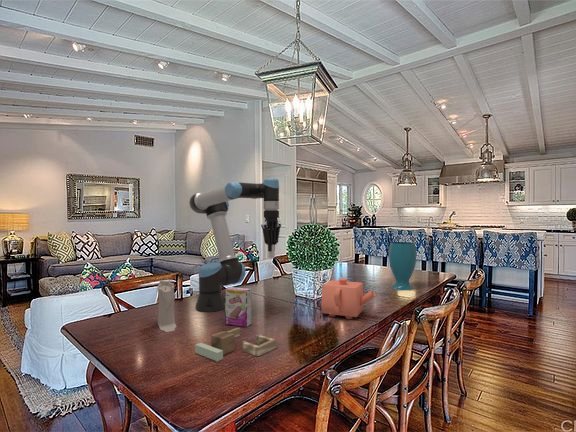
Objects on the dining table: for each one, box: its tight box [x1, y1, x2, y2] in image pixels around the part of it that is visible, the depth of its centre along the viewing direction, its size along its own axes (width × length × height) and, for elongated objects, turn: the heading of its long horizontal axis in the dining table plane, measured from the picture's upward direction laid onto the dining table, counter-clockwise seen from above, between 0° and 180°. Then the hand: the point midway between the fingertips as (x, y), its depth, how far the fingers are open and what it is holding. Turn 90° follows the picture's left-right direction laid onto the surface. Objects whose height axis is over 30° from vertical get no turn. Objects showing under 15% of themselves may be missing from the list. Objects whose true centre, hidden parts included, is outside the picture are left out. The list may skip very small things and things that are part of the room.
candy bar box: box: [224, 286, 252, 328], centre depth 157 cm, size 11×5×16 cm, turn 71°
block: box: [210, 330, 236, 356], centre depth 128 cm, size 6×6×6 cm
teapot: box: [320, 277, 377, 320], centre depth 171 cm, size 25×23×18 cm
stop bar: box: [194, 342, 224, 362], centre depth 123 cm, size 12×2×3 cm, turn 53°
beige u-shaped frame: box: [226, 327, 277, 357], centre depth 134 cm, size 22×11×3 cm, turn 53°
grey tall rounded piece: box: [157, 280, 177, 333], centre depth 154 cm, size 7×14×20 cm, turn 27°
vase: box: [388, 241, 418, 291], centre depth 230 cm, size 17×17×30 cm
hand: (271, 257), depth 171 cm, fingers closed
